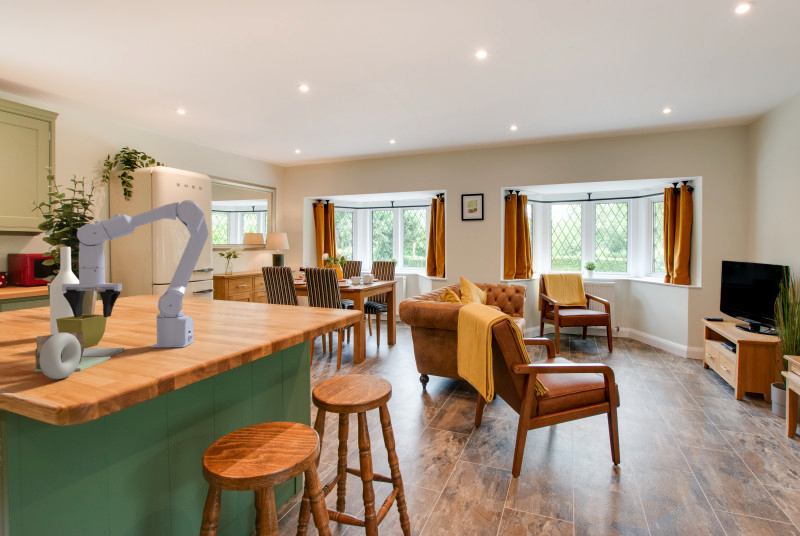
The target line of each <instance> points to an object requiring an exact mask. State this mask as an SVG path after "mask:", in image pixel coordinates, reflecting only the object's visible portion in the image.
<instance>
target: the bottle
mask: <svg viewBox="0 0 800 536" xmlns="http://www.w3.org/2000/svg"><path fill="white" fill-rule="evenodd" d="M71 247H72V246H60V247H59V248H60V251H59V254H60V267H59V269H60V270H59V272H58V273H57V275H56V276H55V278H54V279H53V280H52V281H51V283H50V285H49V315H50V316H49V318H50V321H49V322H50V323H49V324H50V335H55V334H57V333H59V332H58V327H57V322H56V319H57V318H63V317H71V316H74V314H73V311H72V309H71V306H70V304H69V303H68V301H67V300H66V298H65V297H64V296H63V293H66V292H67V291H62V284H79V278H78V277H77V276H76V275H75V274H74V272H73V271H72V256H71V255H72V250H71V249H72V248H71Z"/></svg>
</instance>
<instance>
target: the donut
mask: <svg viewBox="0 0 800 536" xmlns="http://www.w3.org/2000/svg"><path fill="white" fill-rule="evenodd" d="M61 352H62V358H61ZM80 358H81V347H80V343H79V341H78V340H77V338H76V337H75V336H74V335H71V334H69V333H57V334H55V335H53V336H51V337H50V338H49V339H48V340H47V341H46V342H45V344H44V345H43V347H42V349H41V353H40V360H39V361H40V367H41V369H42V371H43V372H42V373H43V374H44V375H45V376H46V377H47V378H49V379H52V380H62V379H65V378H67V377H69V376H71V375H72V374H73V373H74V372H75V369H76V368H77V366H78V364H79V361H80Z"/></svg>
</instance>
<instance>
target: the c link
mask: <svg viewBox="0 0 800 536" xmlns="http://www.w3.org/2000/svg"><path fill="white" fill-rule="evenodd" d="M69 334H71V335H74V336H75V337H76V338H77V340H78V341H79V343H80V347H81V358H82V355H83V351H84V349H85V348H86V347H85V346H84V338H83V332H76V333H69ZM51 336H53V335H51V334H49V335H48V334H47V335H46V334H45V335H39V336H37V337H36V348H35V353H34V356H35V369H41V367H40V361H39V360H40V353H41V349H42V347H43V345H44V344H45V342H46V341H47V340H48V339H49V338H50V337H51ZM84 347H85V348H84ZM61 358H62V352H61ZM81 358H80V361H79V363H80V362H81Z"/></svg>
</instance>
